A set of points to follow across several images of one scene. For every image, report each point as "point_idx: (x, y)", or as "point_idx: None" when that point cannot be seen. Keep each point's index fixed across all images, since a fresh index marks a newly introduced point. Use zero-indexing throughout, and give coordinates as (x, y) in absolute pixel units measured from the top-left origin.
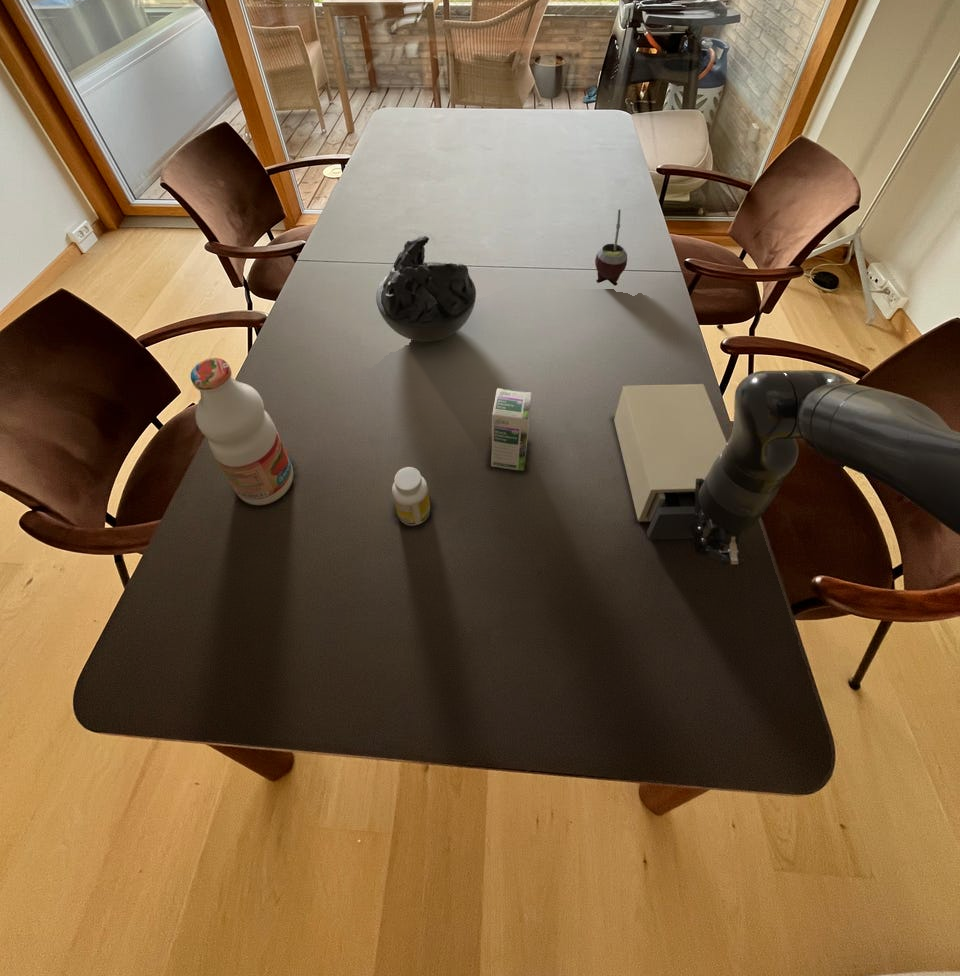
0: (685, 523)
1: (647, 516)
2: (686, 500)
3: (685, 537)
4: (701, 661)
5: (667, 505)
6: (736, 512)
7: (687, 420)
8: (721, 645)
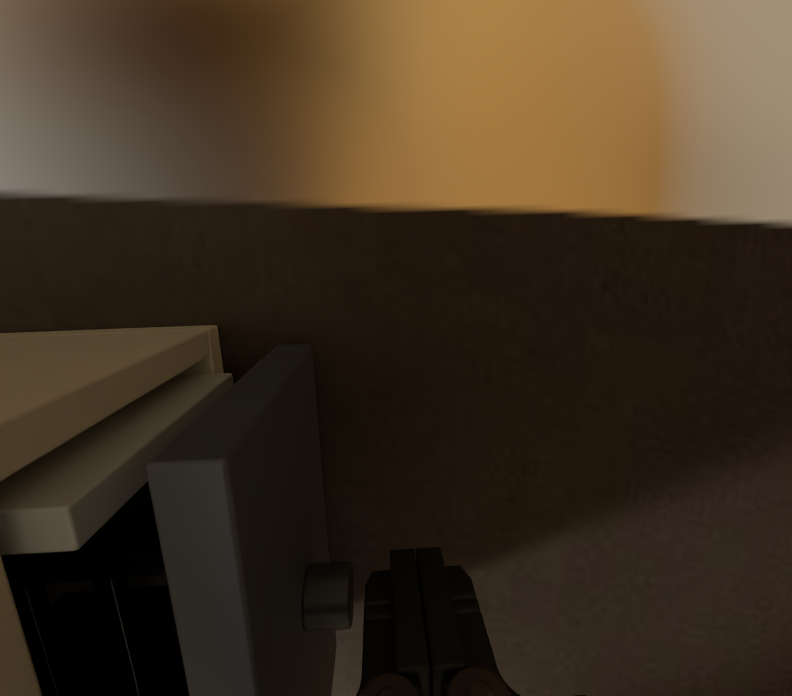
0: (307, 687)
1: None
2: None
3: (325, 530)
4: (724, 531)
5: None
6: None
7: None
8: (692, 463)
